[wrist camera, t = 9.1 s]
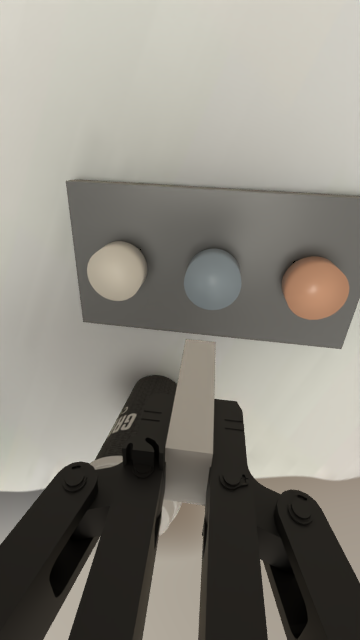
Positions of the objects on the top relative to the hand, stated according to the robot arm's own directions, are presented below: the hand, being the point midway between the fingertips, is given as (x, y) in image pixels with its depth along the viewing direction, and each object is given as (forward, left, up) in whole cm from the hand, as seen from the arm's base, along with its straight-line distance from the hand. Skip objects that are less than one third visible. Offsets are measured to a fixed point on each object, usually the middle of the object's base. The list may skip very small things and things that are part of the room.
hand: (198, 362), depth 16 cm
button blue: (0, 0, -15) cm, 15 cm away
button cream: (-8, 0, -15) cm, 17 cm away
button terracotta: (+9, 0, -15) cm, 18 cm away
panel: (0, 0, -17) cm, 17 cm away
